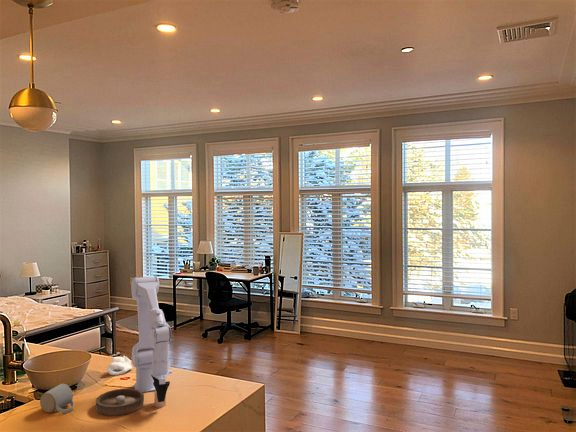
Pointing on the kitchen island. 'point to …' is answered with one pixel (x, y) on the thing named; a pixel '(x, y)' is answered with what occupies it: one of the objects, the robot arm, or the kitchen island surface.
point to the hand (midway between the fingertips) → (160, 397)
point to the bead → (158, 404)
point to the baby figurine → (119, 365)
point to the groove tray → (112, 402)
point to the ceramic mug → (57, 399)
